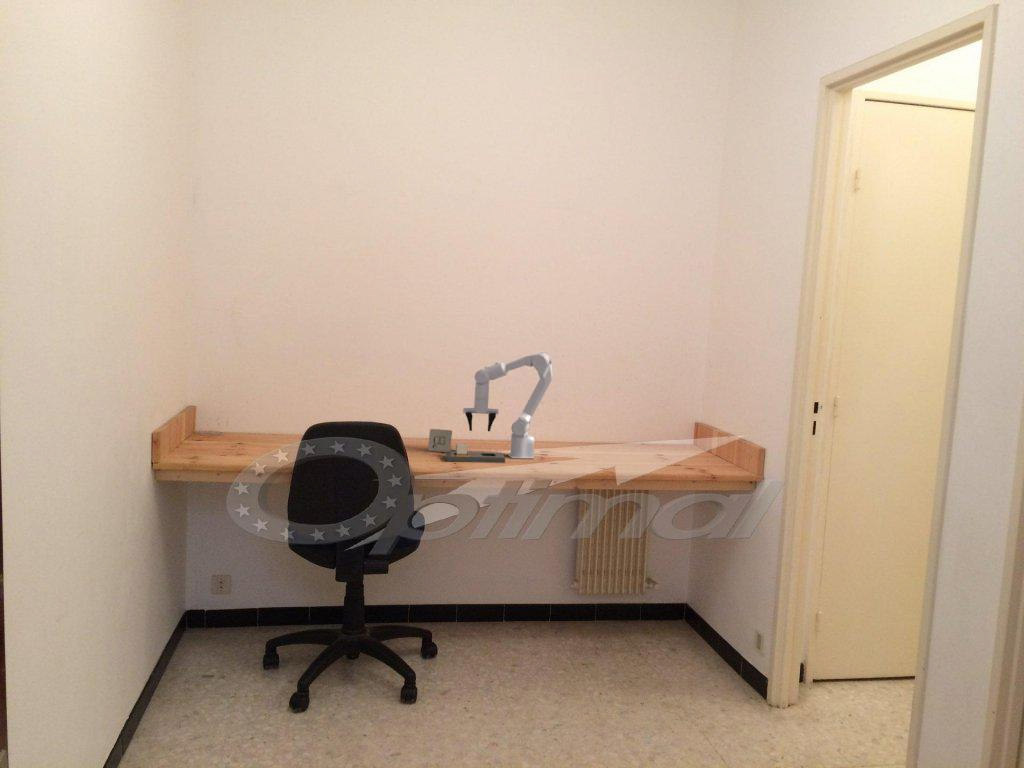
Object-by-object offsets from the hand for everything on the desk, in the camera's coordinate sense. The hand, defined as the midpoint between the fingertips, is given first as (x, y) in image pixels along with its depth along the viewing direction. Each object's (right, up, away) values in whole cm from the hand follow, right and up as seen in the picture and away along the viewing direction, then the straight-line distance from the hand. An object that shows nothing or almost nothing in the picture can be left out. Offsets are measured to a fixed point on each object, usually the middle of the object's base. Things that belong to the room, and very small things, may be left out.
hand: (479, 430), depth 328 cm
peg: (-7, -11, -13) cm, 19 cm away
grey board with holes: (-2, -11, -12) cm, 16 cm away
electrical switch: (-17, -9, +1) cm, 19 cm away
